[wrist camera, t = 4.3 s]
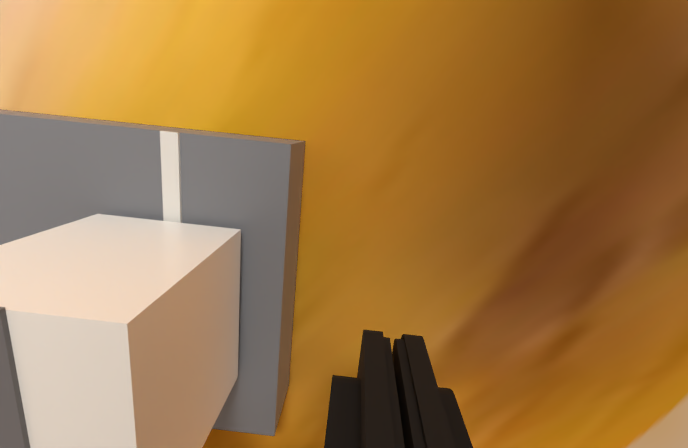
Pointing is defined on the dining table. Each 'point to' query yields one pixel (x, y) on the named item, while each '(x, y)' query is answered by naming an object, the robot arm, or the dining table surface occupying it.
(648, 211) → the dining table surface
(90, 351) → the fader tab
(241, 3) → the dining table surface
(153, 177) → the board
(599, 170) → the dining table surface
